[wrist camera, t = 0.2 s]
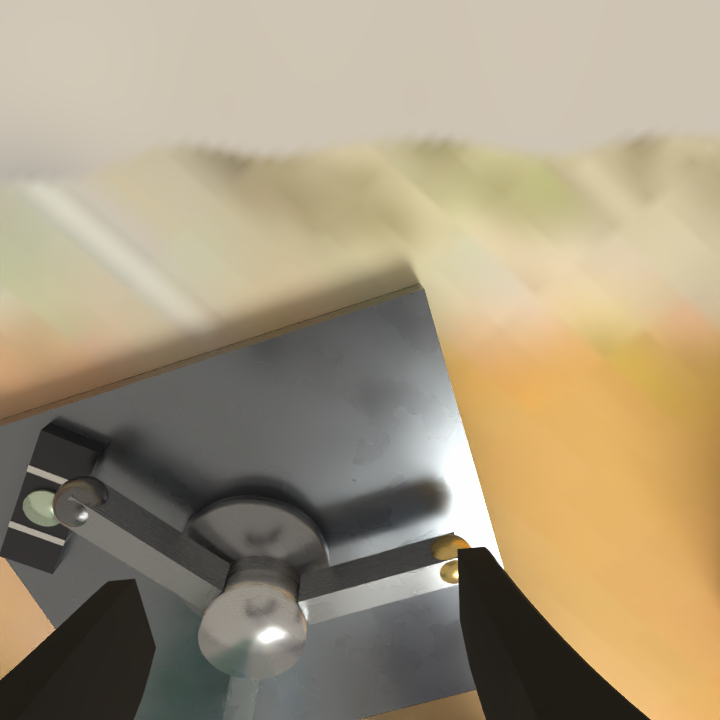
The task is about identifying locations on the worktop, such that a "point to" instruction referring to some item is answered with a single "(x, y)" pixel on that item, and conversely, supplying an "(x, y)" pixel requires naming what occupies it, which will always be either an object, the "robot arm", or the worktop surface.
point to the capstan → (252, 574)
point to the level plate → (276, 480)
